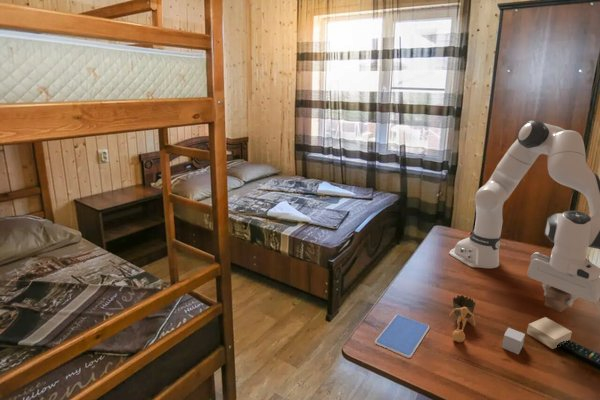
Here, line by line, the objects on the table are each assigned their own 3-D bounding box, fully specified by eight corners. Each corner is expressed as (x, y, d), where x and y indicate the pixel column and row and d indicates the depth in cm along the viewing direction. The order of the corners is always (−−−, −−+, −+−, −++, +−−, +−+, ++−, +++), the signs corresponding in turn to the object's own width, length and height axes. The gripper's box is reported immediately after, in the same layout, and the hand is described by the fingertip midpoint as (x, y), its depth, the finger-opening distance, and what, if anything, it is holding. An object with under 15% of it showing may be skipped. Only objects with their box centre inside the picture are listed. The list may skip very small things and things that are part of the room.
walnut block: (544, 304, 126) (548, 288, 125) (551, 299, 129) (555, 284, 127) (561, 312, 122) (564, 295, 121) (568, 306, 125) (572, 290, 123)
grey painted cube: (501, 347, 125) (504, 334, 123) (505, 340, 128) (508, 327, 127) (518, 354, 122) (521, 341, 120) (522, 346, 125) (525, 334, 124)
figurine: (443, 338, 129) (447, 308, 125) (449, 329, 133) (453, 300, 130) (469, 349, 124) (474, 317, 120) (474, 339, 129) (479, 308, 125)
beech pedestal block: (526, 333, 132) (528, 323, 131) (543, 326, 135) (545, 316, 134) (552, 349, 124) (555, 339, 123) (569, 341, 128) (572, 331, 126)
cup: (462, 328, 134) (465, 309, 132) (446, 317, 140) (448, 298, 138) (477, 322, 137) (480, 303, 135) (460, 311, 144) (463, 293, 141)
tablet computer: (410, 360, 120) (410, 357, 120) (373, 344, 127) (373, 341, 127) (430, 328, 135) (430, 325, 135) (396, 316, 142) (396, 313, 142)
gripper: (527, 252, 127) (520, 289, 132) (599, 278, 111) (589, 319, 116) (537, 248, 131) (529, 283, 135) (608, 272, 114) (597, 312, 119)
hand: (557, 300), depth 125 cm, fingers closed on walnut block, 5 cm apart
